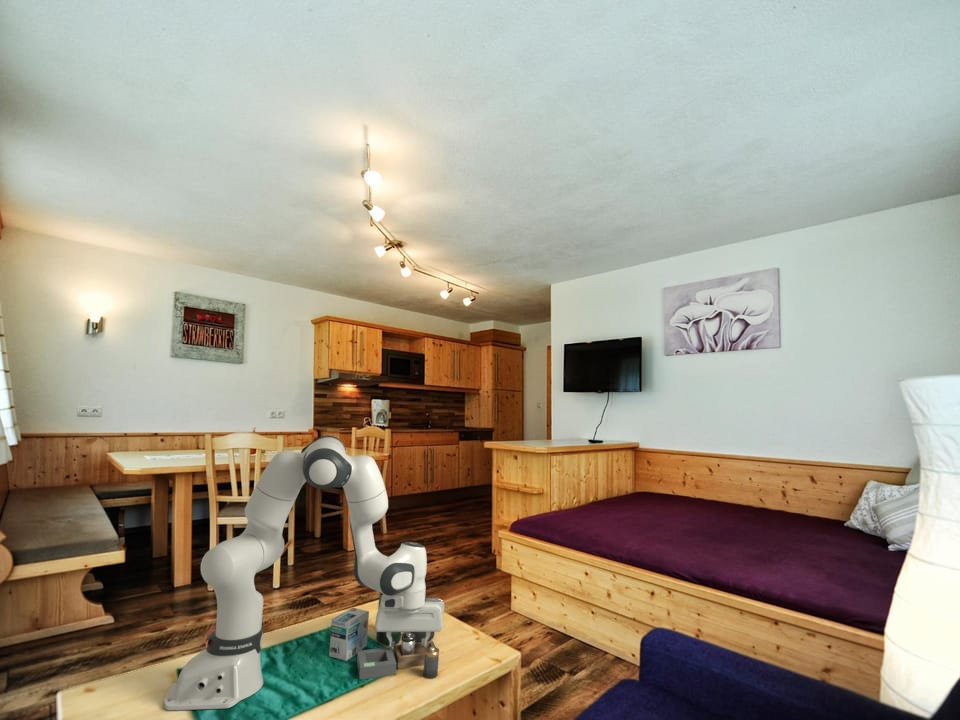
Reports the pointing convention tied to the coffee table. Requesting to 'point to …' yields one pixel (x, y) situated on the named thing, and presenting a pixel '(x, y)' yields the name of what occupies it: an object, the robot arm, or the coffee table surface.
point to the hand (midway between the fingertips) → (408, 646)
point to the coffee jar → (382, 635)
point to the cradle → (376, 663)
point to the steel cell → (407, 644)
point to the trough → (413, 659)
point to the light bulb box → (349, 633)
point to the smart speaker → (422, 636)
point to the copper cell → (431, 662)
